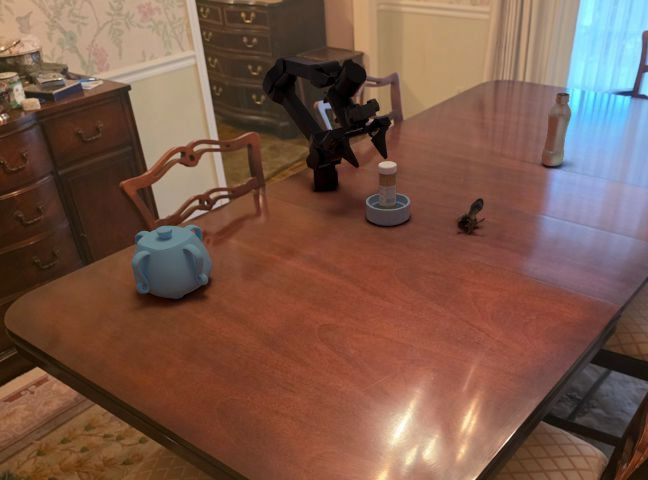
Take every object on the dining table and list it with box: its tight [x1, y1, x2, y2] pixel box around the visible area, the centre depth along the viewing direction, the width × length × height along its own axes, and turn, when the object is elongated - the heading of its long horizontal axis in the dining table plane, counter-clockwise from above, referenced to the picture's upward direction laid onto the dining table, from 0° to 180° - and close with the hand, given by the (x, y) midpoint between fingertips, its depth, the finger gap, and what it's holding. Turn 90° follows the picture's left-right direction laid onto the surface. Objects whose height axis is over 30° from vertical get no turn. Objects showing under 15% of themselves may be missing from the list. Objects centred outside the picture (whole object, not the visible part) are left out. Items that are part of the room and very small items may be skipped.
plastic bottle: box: [541, 92, 572, 167], centre depth 179 cm, size 6×7×20 cm
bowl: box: [365, 192, 411, 227], centre depth 158 cm, size 11×11×4 cm
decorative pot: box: [131, 224, 213, 300], centre depth 131 cm, size 16×16×14 cm
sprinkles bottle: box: [377, 160, 398, 210], centre depth 155 cm, size 5×5×14 cm
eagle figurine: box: [456, 197, 486, 235], centre depth 152 cm, size 8×7×9 cm
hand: (372, 162), depth 155 cm, fingers open, 9 cm apart
